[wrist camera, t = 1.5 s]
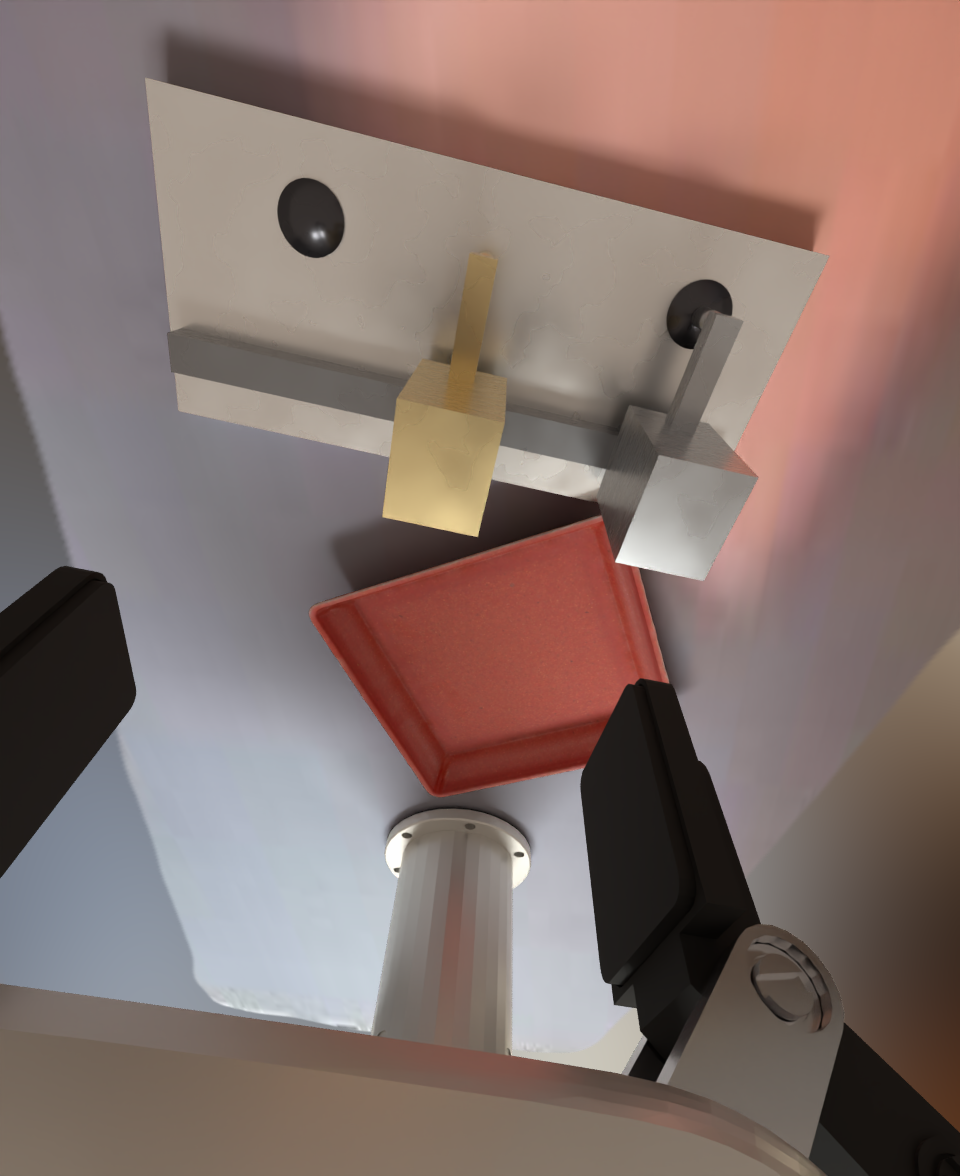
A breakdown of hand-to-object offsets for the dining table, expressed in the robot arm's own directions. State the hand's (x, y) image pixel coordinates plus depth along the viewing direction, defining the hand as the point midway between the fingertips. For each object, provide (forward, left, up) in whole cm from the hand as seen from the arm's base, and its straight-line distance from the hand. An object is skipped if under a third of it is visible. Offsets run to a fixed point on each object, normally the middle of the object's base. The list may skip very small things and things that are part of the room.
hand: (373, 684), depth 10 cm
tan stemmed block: (+2, 0, -18) cm, 18 cm away
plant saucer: (-15, -6, -20) cm, 26 cm away
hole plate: (+3, 0, -20) cm, 20 cm away
